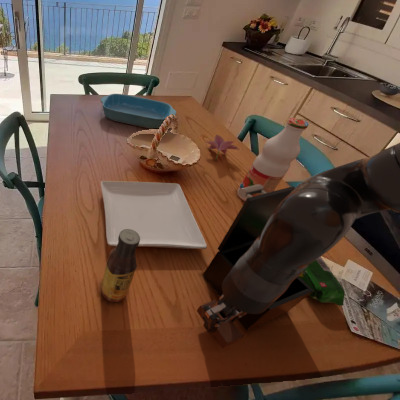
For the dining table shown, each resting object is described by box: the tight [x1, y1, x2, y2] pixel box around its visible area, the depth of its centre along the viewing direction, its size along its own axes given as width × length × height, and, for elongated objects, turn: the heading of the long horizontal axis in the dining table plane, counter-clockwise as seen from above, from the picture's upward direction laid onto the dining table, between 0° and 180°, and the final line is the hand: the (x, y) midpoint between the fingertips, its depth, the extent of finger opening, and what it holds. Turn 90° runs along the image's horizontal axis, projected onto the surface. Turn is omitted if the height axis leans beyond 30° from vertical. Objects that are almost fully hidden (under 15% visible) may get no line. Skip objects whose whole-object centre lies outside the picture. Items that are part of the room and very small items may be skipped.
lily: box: [204, 134, 240, 160], centre depth 109 cm, size 12×12×10 cm
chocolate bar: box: [196, 299, 244, 349], centre depth 56 cm, size 8×4×2 cm, turn 20°
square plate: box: [100, 180, 208, 250], centre depth 81 cm, size 27×27×4 cm
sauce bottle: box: [100, 229, 140, 303], centre depth 57 cm, size 7×6×20 cm
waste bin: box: [202, 240, 314, 331], centre depth 62 cm, size 15×13×10 cm
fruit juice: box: [236, 117, 309, 202], centre depth 84 cm, size 9×9×28 cm
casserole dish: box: [100, 93, 177, 130], centre depth 132 cm, size 37×22×7 cm, turn 71°
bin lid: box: [217, 184, 296, 251], centre depth 60 cm, size 16×13×6 cm
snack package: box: [299, 256, 346, 306], centre depth 67 cm, size 7×16×5 cm, turn 177°
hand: (216, 324), depth 56 cm, fingers closed on chocolate bar, 4 cm apart
